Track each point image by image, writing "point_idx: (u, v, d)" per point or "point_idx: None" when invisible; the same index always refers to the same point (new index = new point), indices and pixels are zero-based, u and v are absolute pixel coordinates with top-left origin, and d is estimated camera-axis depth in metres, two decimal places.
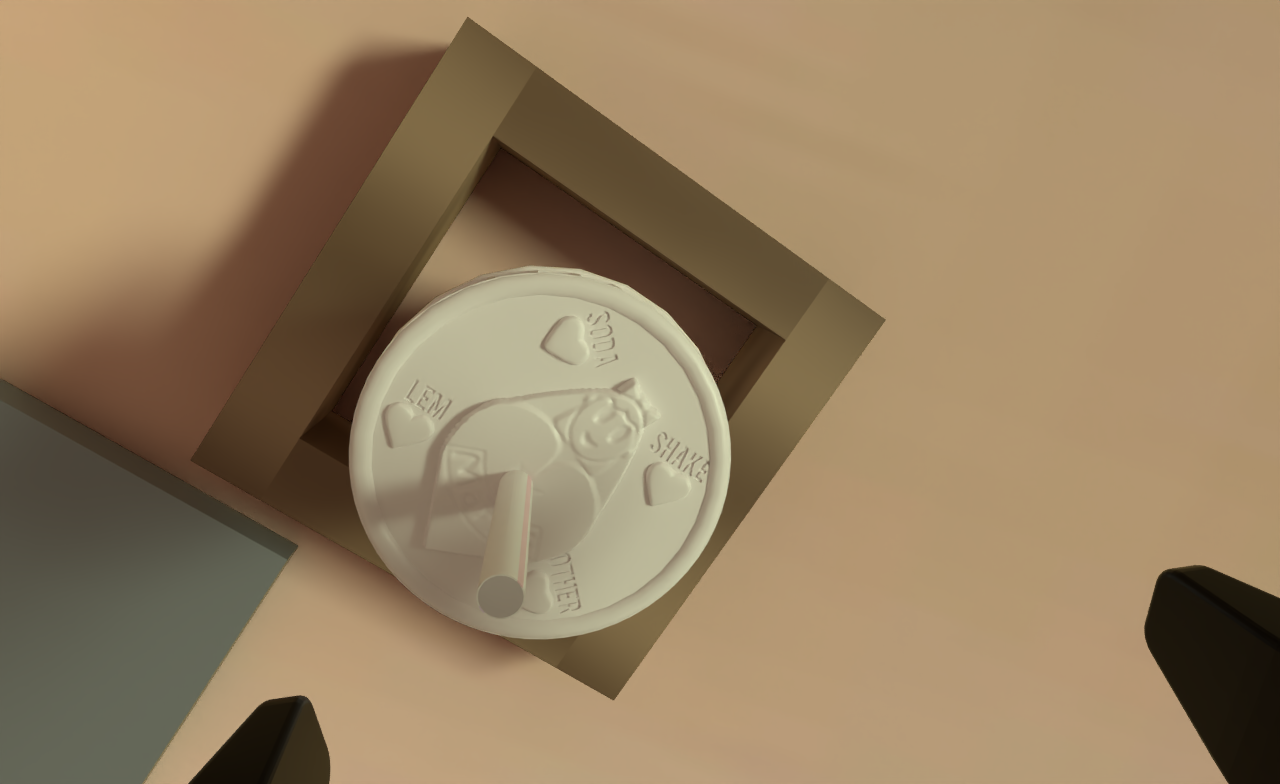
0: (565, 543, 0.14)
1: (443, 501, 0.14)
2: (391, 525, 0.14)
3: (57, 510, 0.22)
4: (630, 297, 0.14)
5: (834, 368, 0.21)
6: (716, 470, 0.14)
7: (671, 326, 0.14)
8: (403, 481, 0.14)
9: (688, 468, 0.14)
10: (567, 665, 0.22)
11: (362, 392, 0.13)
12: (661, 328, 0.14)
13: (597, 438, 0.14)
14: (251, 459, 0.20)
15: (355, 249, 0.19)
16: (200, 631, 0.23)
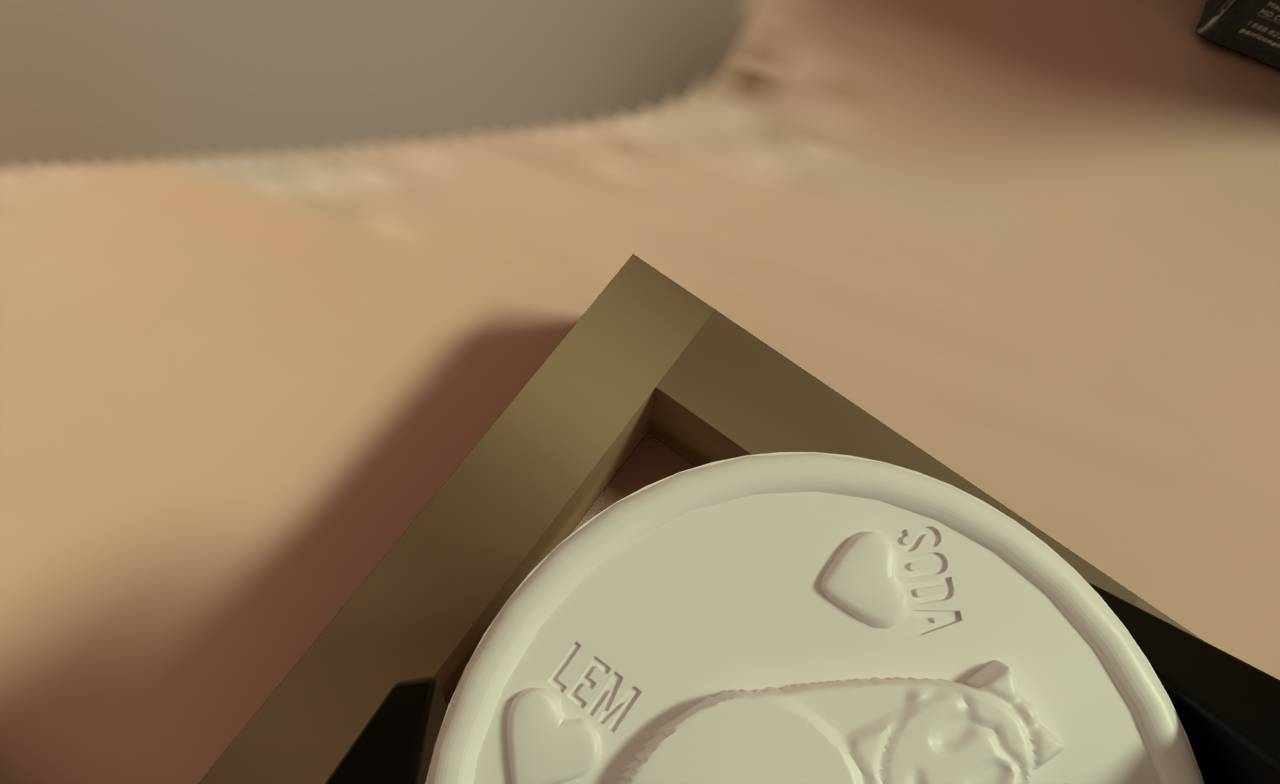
0: None
1: None
2: None
3: None
4: (974, 508, 0.08)
5: None
6: None
7: (1060, 559, 0.07)
8: None
9: None
10: None
11: (470, 663, 0.07)
12: (1042, 562, 0.07)
13: None
14: None
15: (454, 528, 0.14)
16: None
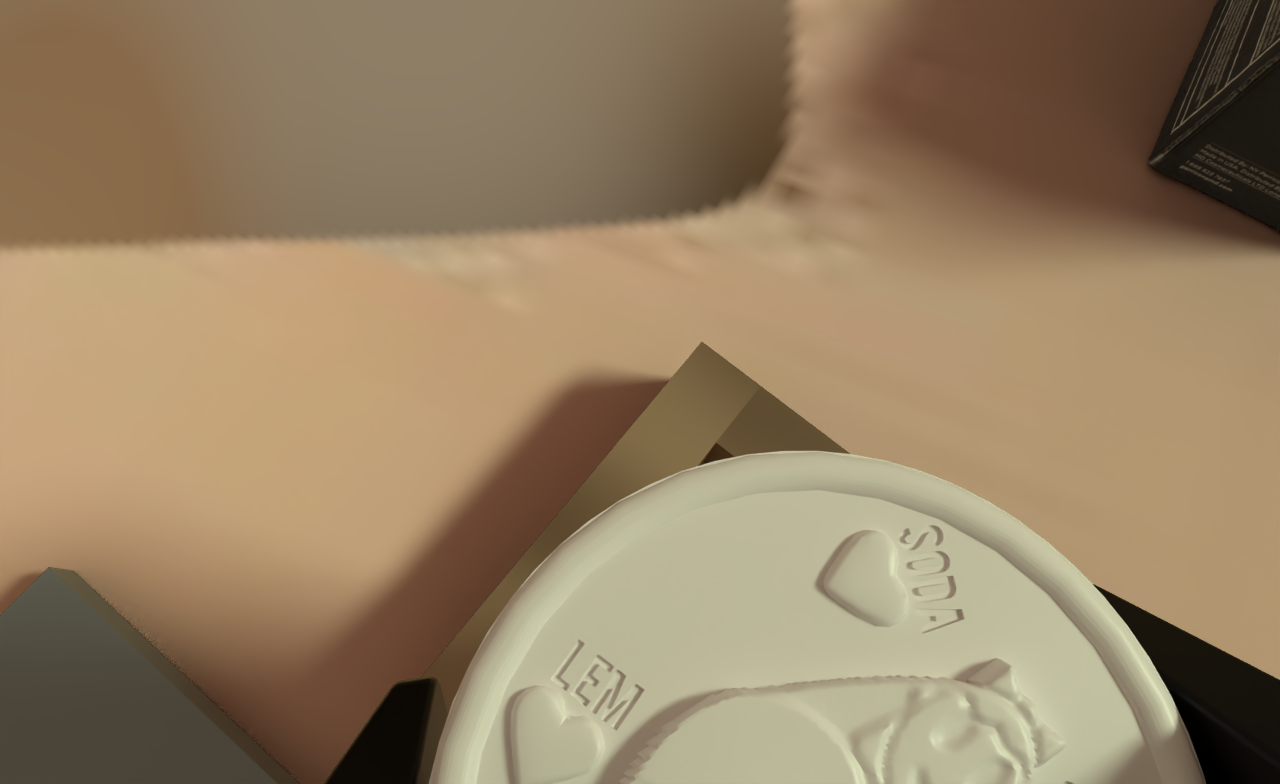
0: None
1: None
2: None
3: None
4: (976, 507, 0.08)
5: None
6: None
7: (1062, 557, 0.07)
8: None
9: None
10: None
11: (474, 661, 0.07)
12: (1044, 560, 0.07)
13: None
14: None
15: None
16: None
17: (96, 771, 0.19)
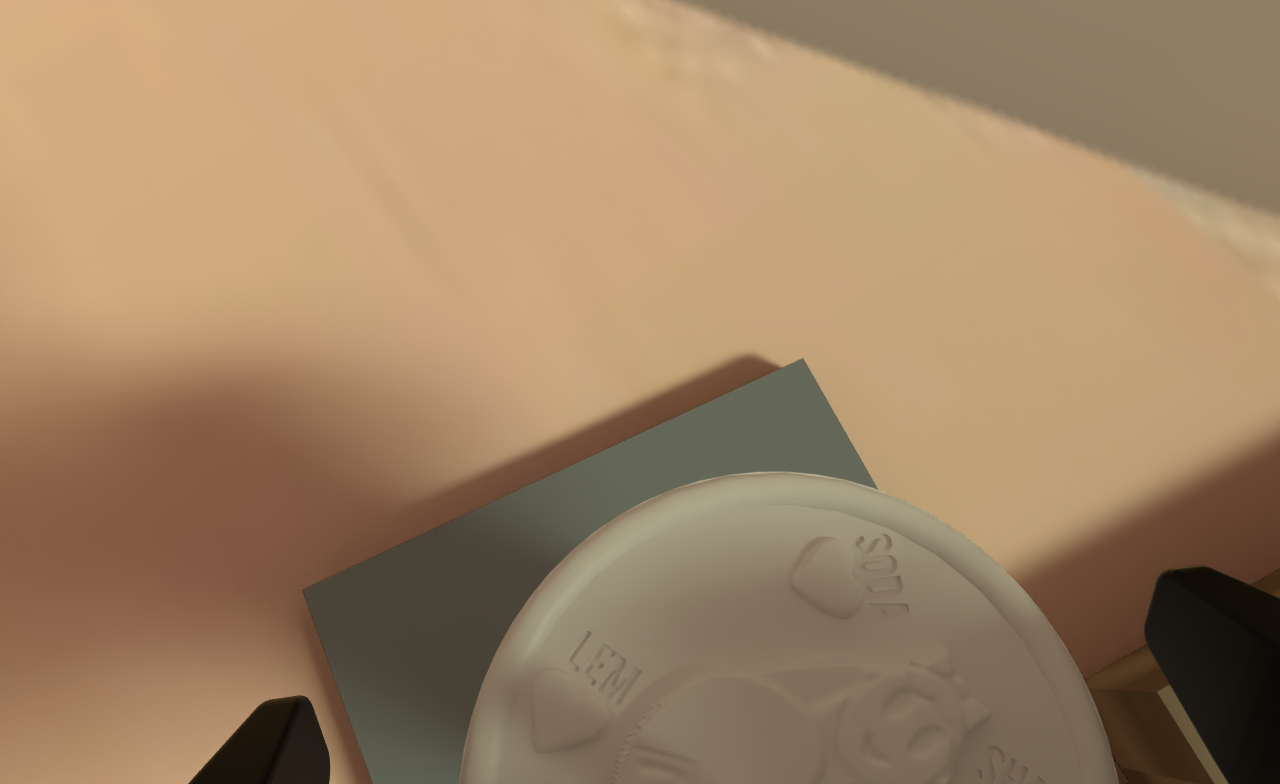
0: None
1: None
2: None
3: None
4: (919, 518, 0.09)
5: None
6: None
7: (991, 560, 0.09)
8: None
9: None
10: None
11: (500, 649, 0.08)
12: (976, 562, 0.09)
13: (891, 748, 0.08)
14: None
15: None
16: None
17: None
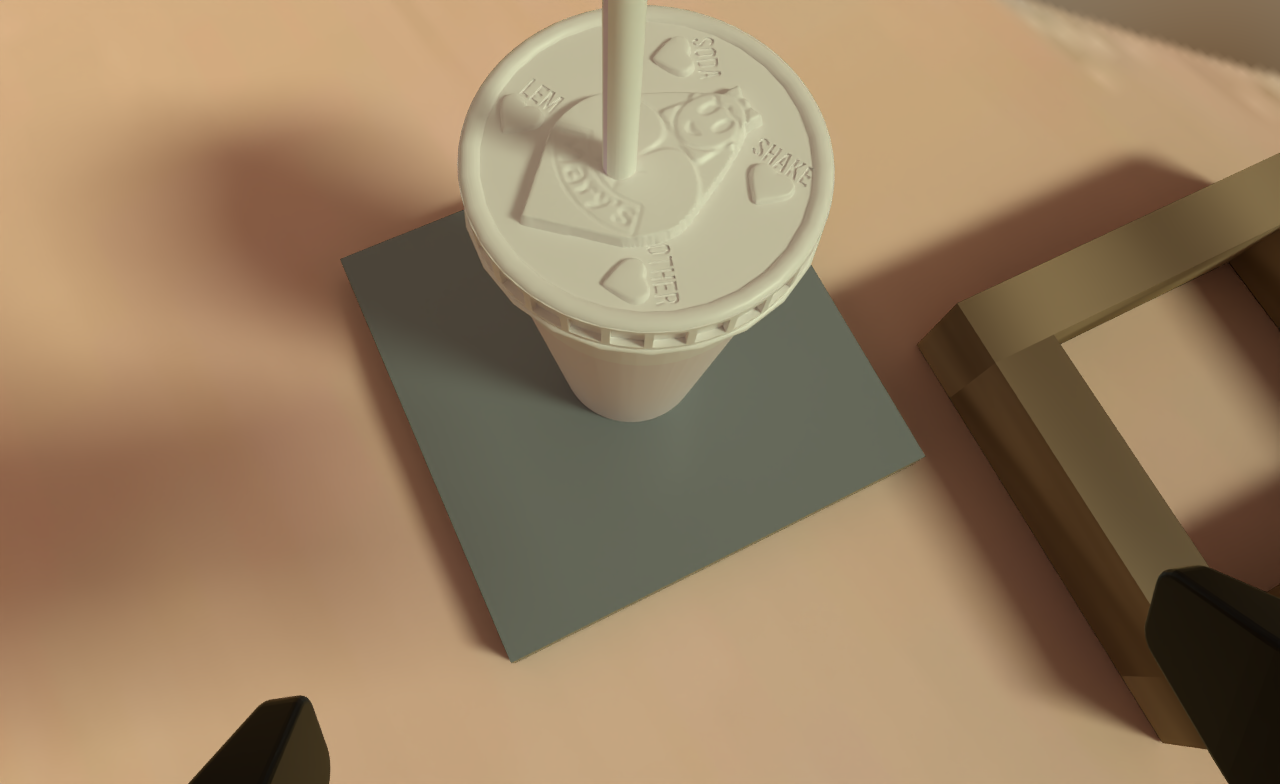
0: (666, 223, 0.14)
1: (546, 171, 0.14)
2: (490, 201, 0.14)
3: None
4: (732, 33, 0.15)
5: None
6: (820, 177, 0.14)
7: None
8: (508, 163, 0.14)
9: (792, 174, 0.14)
10: None
11: (482, 85, 0.14)
12: (761, 50, 0.15)
13: (701, 127, 0.14)
14: (1006, 328, 0.22)
15: (1165, 230, 0.23)
16: (813, 473, 0.22)
17: None
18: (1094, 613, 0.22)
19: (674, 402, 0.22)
